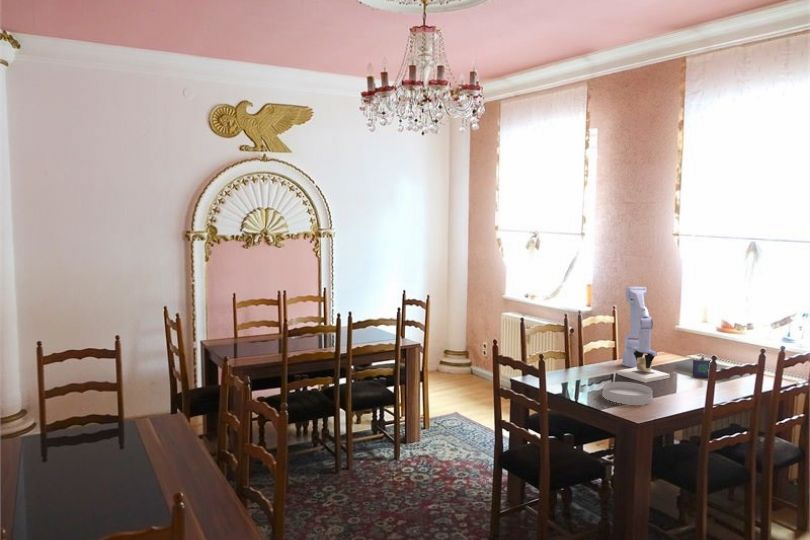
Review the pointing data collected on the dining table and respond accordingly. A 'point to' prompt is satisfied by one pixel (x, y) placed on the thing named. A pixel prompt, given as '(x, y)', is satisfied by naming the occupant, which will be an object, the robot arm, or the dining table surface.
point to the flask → (700, 367)
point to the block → (642, 364)
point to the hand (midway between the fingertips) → (643, 366)
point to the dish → (627, 393)
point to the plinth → (643, 374)
